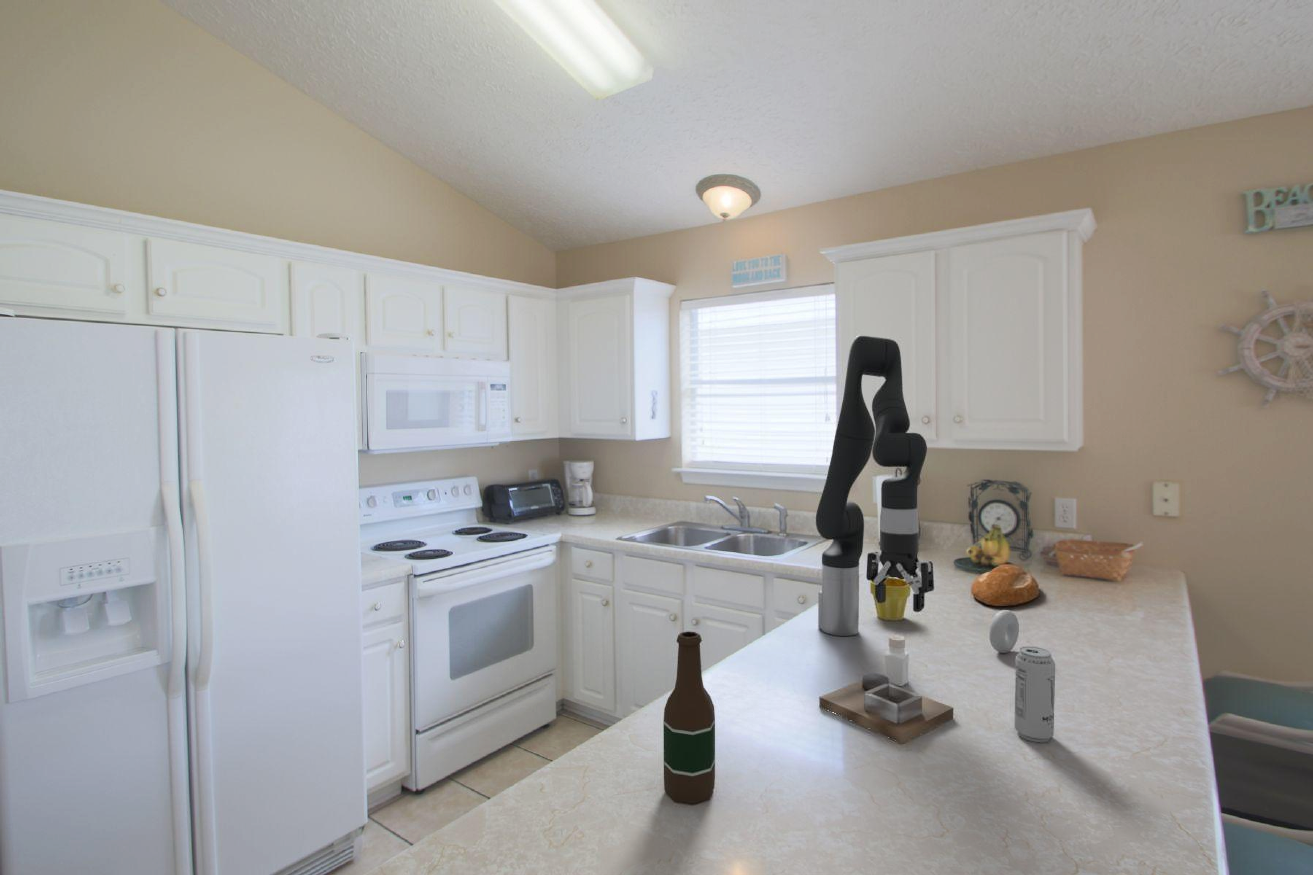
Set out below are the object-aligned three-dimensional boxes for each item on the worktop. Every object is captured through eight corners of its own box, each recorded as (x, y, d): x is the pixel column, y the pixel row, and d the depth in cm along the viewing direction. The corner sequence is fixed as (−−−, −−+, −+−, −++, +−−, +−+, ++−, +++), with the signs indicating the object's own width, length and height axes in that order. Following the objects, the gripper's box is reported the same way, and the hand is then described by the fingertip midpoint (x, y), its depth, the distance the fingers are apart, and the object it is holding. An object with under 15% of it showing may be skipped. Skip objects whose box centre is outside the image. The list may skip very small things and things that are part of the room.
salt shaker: (890, 676, 145) (890, 633, 144) (909, 681, 142) (909, 637, 142) (883, 682, 142) (883, 638, 141) (902, 687, 139) (903, 642, 139)
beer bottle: (661, 778, 106) (660, 626, 105) (710, 775, 107) (710, 624, 105) (666, 807, 98) (665, 644, 97) (719, 804, 99) (719, 642, 98)
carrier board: (819, 706, 131) (819, 681, 130) (870, 686, 140) (870, 662, 140) (902, 744, 116) (902, 715, 116) (953, 718, 126) (953, 691, 125)
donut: (1001, 659, 154) (1001, 616, 154) (985, 655, 157) (986, 612, 157) (1021, 649, 161) (1022, 608, 160) (1006, 645, 163) (1007, 604, 163)
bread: (1048, 588, 215) (1049, 560, 215) (1024, 614, 188) (1024, 583, 188) (988, 579, 226) (989, 552, 226) (957, 603, 199) (957, 573, 199)
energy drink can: (1052, 747, 115) (1054, 660, 114) (1012, 738, 118) (1014, 653, 117) (1054, 732, 120) (1056, 649, 119) (1015, 724, 123) (1017, 642, 122)
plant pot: (868, 620, 183) (868, 584, 182) (871, 609, 192) (871, 575, 192) (909, 624, 179) (909, 588, 179) (910, 613, 189) (911, 578, 188)
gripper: (941, 531, 137) (940, 611, 138) (880, 522, 149) (880, 596, 149) (920, 536, 133) (920, 618, 133) (858, 526, 144) (859, 602, 145)
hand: (899, 606), depth 141 cm, fingers open, 8 cm apart
